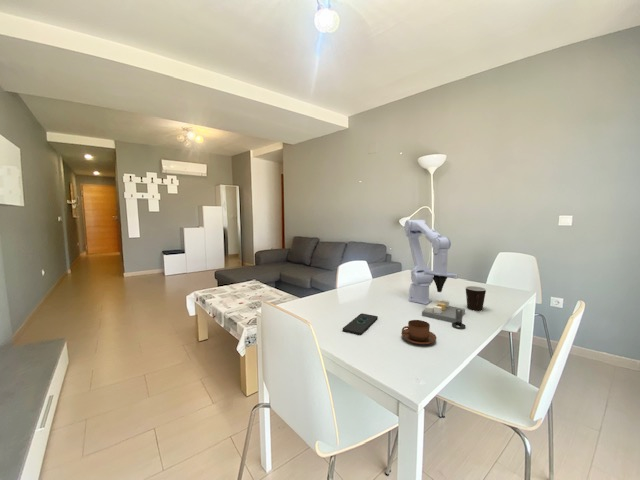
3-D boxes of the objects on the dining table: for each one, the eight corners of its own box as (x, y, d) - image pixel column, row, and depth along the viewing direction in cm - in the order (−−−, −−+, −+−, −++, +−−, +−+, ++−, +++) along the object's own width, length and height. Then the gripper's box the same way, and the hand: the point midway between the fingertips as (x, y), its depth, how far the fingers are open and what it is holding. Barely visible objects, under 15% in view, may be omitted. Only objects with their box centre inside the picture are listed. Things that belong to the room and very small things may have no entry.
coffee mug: (468, 304, 140) (468, 285, 139) (487, 308, 134) (488, 288, 133) (459, 310, 132) (460, 289, 131) (479, 314, 126) (480, 293, 125)
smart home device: (378, 316, 122) (361, 332, 105) (378, 319, 122) (361, 337, 105) (361, 312, 126) (341, 328, 109) (360, 316, 126) (341, 332, 109)
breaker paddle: (437, 309, 127) (437, 303, 127) (438, 308, 129) (438, 302, 128) (444, 310, 125) (444, 305, 125) (445, 309, 127) (445, 304, 127)
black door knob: (450, 327, 112) (450, 310, 111) (453, 323, 116) (454, 307, 115) (463, 330, 109) (464, 312, 108) (466, 326, 113) (467, 309, 112)
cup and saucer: (417, 350, 93) (417, 332, 93) (394, 336, 104) (394, 320, 104) (443, 343, 98) (444, 326, 98) (419, 330, 109) (419, 315, 109)
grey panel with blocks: (421, 315, 125) (422, 305, 125) (433, 306, 137) (434, 297, 137) (455, 323, 116) (455, 312, 115) (464, 313, 128) (465, 303, 128)
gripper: (421, 262, 130) (421, 290, 132) (454, 266, 121) (453, 296, 122) (427, 260, 136) (426, 287, 137) (459, 263, 126) (458, 293, 128)
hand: (439, 291), depth 130 cm, fingers closed
